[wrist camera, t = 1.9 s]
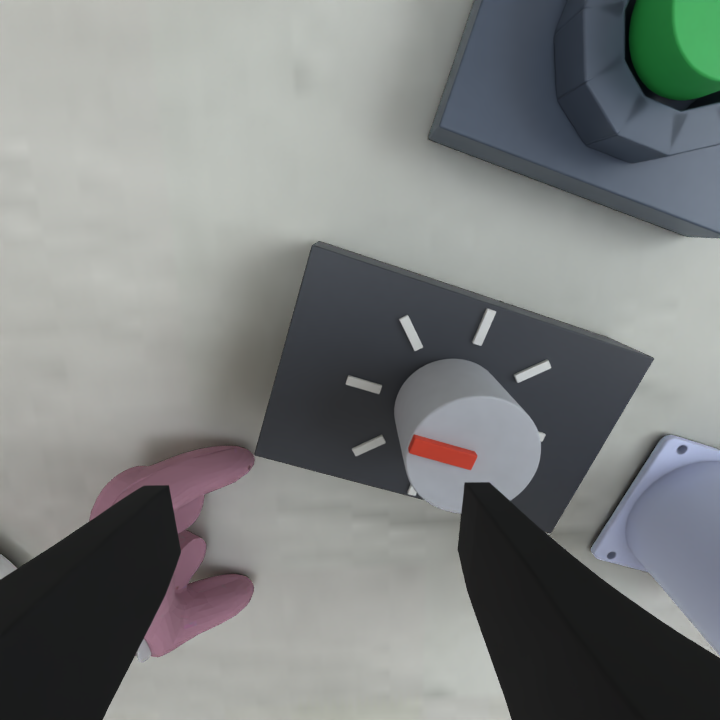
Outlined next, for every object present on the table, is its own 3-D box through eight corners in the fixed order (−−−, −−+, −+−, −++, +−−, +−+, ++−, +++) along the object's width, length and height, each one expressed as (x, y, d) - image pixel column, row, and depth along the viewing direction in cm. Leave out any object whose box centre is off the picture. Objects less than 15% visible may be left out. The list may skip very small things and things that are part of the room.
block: (827, -11, 14) (995, -94, 11) (687, 237, 17) (782, 241, 13) (526, -156, 13) (598, -312, 9) (427, 139, 16) (450, 112, 12)
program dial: (520, 376, 16) (571, 423, 12) (475, 467, 17) (510, 534, 13) (416, 344, 15) (436, 382, 12) (379, 440, 17) (386, 502, 13)
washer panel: (608, 337, 19) (658, 359, 16) (524, 492, 21) (552, 536, 18) (318, 240, 17) (311, 244, 14) (268, 421, 20) (252, 458, 17)
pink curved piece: (194, 418, 21) (48, 489, 15) (264, 444, 19) (130, 536, 13) (201, 563, 24) (83, 669, 18) (261, 596, 23) (153, 726, 17)
